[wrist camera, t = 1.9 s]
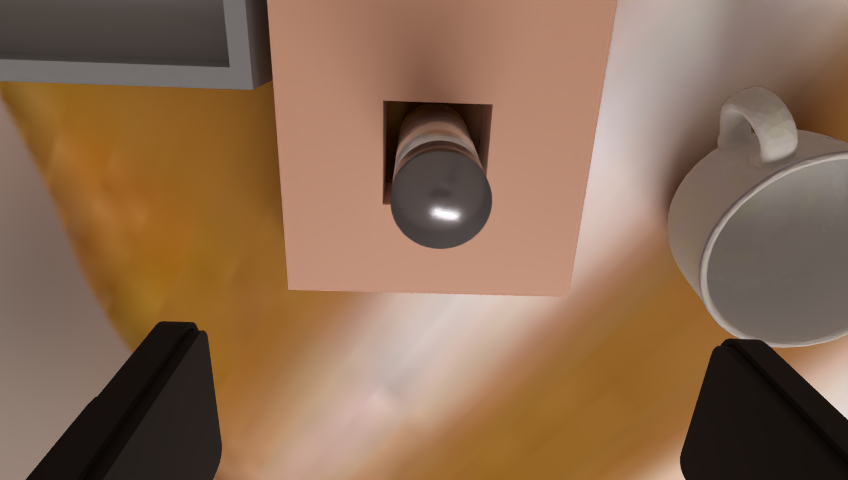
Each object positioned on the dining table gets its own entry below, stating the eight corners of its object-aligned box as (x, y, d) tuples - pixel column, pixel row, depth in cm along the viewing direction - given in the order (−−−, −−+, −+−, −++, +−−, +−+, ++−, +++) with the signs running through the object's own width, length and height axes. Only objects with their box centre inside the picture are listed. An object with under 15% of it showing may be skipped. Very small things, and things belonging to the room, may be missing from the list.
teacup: (824, 254, 35) (934, 321, 27) (656, 300, 36) (717, 377, 28) (819, 33, 29) (954, 43, 22) (621, 97, 30) (686, 126, 23)
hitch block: (592, -8, 28) (618, -10, 24) (552, 265, 35) (568, 296, 31) (285, -21, 28) (265, -25, 24) (302, 259, 34) (288, 289, 30)
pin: (470, 104, 30) (496, 154, 20) (465, 172, 32) (487, 250, 22) (399, 102, 30) (391, 151, 20) (398, 170, 32) (389, 247, 22)
